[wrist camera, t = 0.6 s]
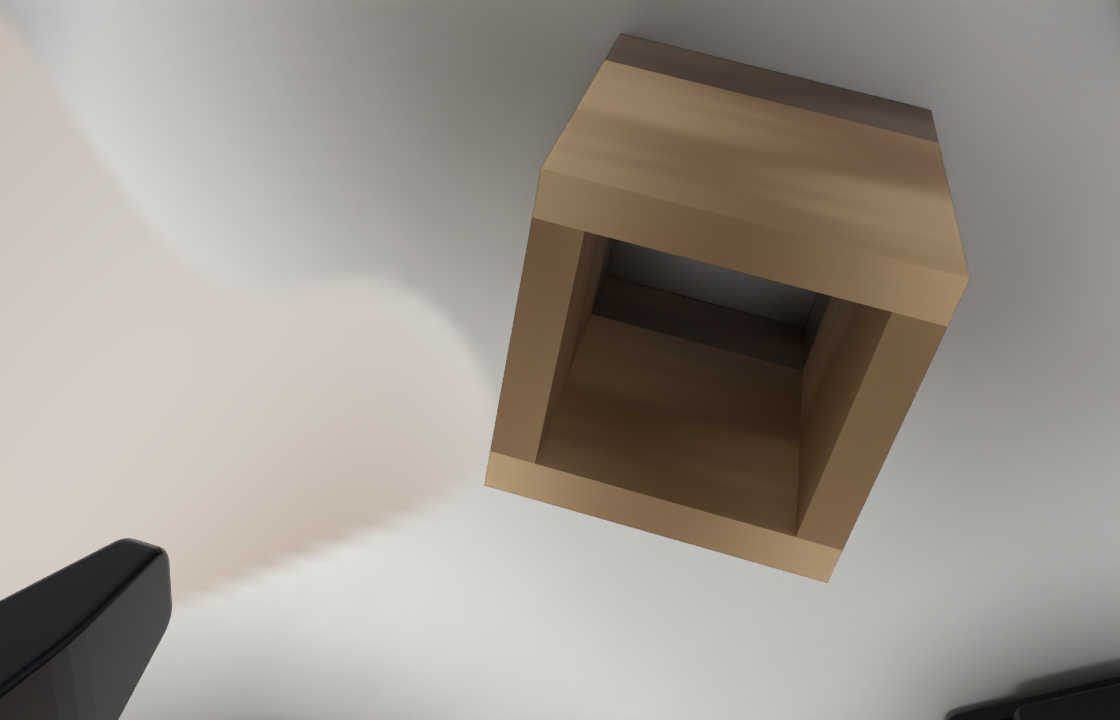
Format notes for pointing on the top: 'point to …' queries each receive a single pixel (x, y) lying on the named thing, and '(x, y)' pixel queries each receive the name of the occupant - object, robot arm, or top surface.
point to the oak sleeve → (720, 333)
